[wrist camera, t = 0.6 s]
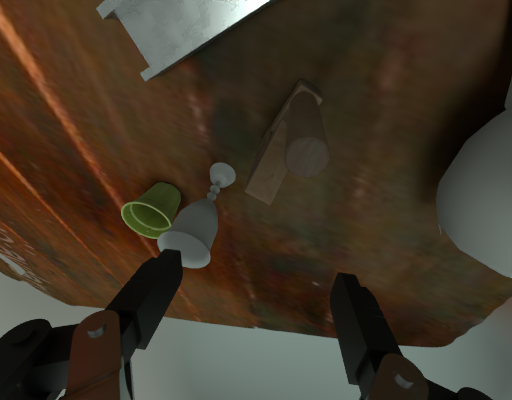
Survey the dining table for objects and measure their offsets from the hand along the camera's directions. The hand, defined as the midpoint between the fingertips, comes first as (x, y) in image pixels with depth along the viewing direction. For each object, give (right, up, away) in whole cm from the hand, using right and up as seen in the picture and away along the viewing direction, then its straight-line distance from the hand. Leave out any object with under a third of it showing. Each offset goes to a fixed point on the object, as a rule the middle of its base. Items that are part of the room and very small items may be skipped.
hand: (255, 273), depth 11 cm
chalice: (-6, +9, +30) cm, 32 cm away
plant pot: (-19, +5, +35) cm, 40 cm away
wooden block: (+5, +16, +22) cm, 28 cm away
